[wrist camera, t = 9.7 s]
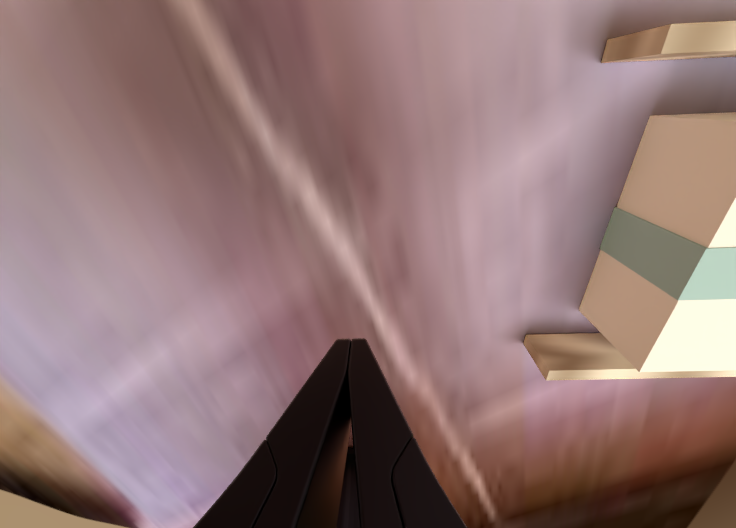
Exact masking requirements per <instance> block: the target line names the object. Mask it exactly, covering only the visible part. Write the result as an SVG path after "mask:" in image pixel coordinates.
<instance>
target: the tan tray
mask: <svg viewBox="0 0 736 528" xmlns="http://www.w3.org/2000/svg"><path fill="white" fill-rule="evenodd" d="M716 57H736V21H719V22H699V23H679V24H669V25H665V26H661V27H657V28H653V29H648V30H644V31H640V32H636V33H632V34H628V35H624V36H620V37H616V38H612V39H608V40H607V43H606V47H605V51H604V54H603V58H602V61H601V63H610V62H631V61H652V60H673V59H694V58H716ZM524 346H525V347H526V349H527V350H528V352H529V354H530V355H531V357H532V358H533V360H534V362H535V363H536V365H537V367H538V368H539V370H540V371H541V373H542V375H543V376H544V378H545V379H546V380H587V379H637V378H688V377H736V370H726V371H676V372H638V371H637V370H636V369H635V367H634V366H633V365H632V364H631V363H630V362H629V361H628V360H627V359H626V358H625V357H624V356H623V355H622V354H621V353H620V352H619V351H618V350H617V349H616V348H615V347H614V346H613V345H612V344H611V343H610V342H609V341H608V340H607V339H606V338H605V337H604V336H603V335H602V334H601V333H577V334H535V335H526V336H525V340H524Z"/></svg>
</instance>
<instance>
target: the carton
mask: <svg viewBox="0 0 736 528" xmlns="http://www.w3.org/2000/svg"><path fill="white" fill-rule="evenodd" d="M599 249H601V250H600V253H599V256H598V259H597V261H596V264H595V267H594V270H593V272H592V275H591V278H590V280H589V283H588V286H587V289H586V291H585V294H584V297H583V300H582V302H581V305H580V308H579V311H580V312H581V313H582V314H583V315H584V316H585V317H586V318H587V319H588V320H589V321H590V322H591V323H592V324H593V325H594V327H595V328H596V329H597V330H598V331H599V332H600V333H601V334H602V335H603V336H604V337H605V338H606V339H607V340H608V341H609V342H610V343H611V344H612V345H613V346H614V347H615V348H616V349H617V350H618V351H619V352H620V353H621V354H622V355H623V356H624V357H625V358H626V359H627V360H628V361H629V362H630V363H631V364H632V365H633V366H634V367H635V369H636V370H637V371H638V372H676V371H726V370H736V112H726V113H702V114H679V115H655V116H650V117H649V120H648V122H647V125H646V128H645V131H644V133H643V136H642V139H641V141H640V144H639V147H638V150H637V152H636V155H635V158H634V161H633V163H632V166H631V169H630V171H629V174H628V177H627V180H626V182H625V185H624V188H623V191H622V193H621V196H620V199H619V201H618V204H617V207H614V210H613V213H612V215H611V218H610V221H609V224H608V226H607V229H606V232H605V235H604V237H603V240H602V243H601V246H600V248H599Z"/></svg>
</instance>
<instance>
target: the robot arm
mask: <svg viewBox="0 0 736 528" xmlns="http://www.w3.org/2000/svg"><path fill="white" fill-rule="evenodd" d="M351 423H352V435H353V448H354V449H348V443H349V436H350V429H351ZM193 528H467V526H466V525H465V523H464V522H463V520H462V519H461V517H460V516H459V514H458V512H457V511H456V509H455V508H454V506H453V505H452V503H451V502H450V500H449V499H448V497H447V495H446V494H445V492H444V490H443V489H442V487H441V485H440V484H439V482H438V480H437V479H436V477H435V475H434V474H433V472H432V470H431V468H430V466H429V464H428V462H427V461H426V459H425V457H424V455H423V453H422V451H421V449H420V447H419V445H418V443H417V441H416V439H415V438H413V433H412V431H411V429H410V427H409V425H408V423H407V421H406V419H405V417H404V415H403V413H402V411H401V409H400V407H399V405H398V403H397V401H396V399H395V397H394V395H393V393H392V391H391V389H390V387H389V385H388V383H387V381H386V378H385V376H384V374H383V372H382V370H381V368H380V366H379V364H378V362H377V360H376V358H375V356H374V354H373V352H372V350H371V348H370V346H369V344H368V342H367V340H366V339H364V338H359V339H352V341H351V340H350V339H337V340H336V341H335V342H334V344H333V345H332V347H331V348H330V349H329V351H328V352H327V354H326V355H325V356H324V358H323V359H322V360H321V362H320V363H319V365H318V366H317V367H316V369H315V370H314V372H313V373H312V374H311V376H310V377H309V378H308V380H307V381H306V383H305V384H304V385H303V387H302V388H301V390H300V391H299V392H298V394H297V395H296V396H295V398H294V399H293V401H292V402H291V403H290V405H289V406H288V408H287V409H286V410H285V412H284V413H283V414H282V416H281V417H280V419H279V420H278V421H277V423H276V424H275V426H274V427H273V428H272V430H271V431H270V432H269V434H268V435H267V437H266V440H264V441H263V442H262V443H261V445H260V446H259V448H258V449H257V450H256V452H255V453H254V454H253V456H252V457H251V458H250V460H249V461H248V462H247V464H246V465H245V466H244V468H243V469H242V470H241V472H240V473H239V474H238V476H237V477H236V478H235V479H234V480H233V482H232V483H231V484H230V485H229V486H228V488H227V489H226V490H225V491H224V492H223V494H222V495H221V496H220V497H219V498H218V499H217V501H216V502H215V503H214V504H213V505H212V506H211V508H210V509H209V510H208V511H207V512H206V513H205V515H204V516H203V517H202V518H201V519H200V520H199V521H198V523H197V524H196V525H195V526H194V527H193Z"/></svg>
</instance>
